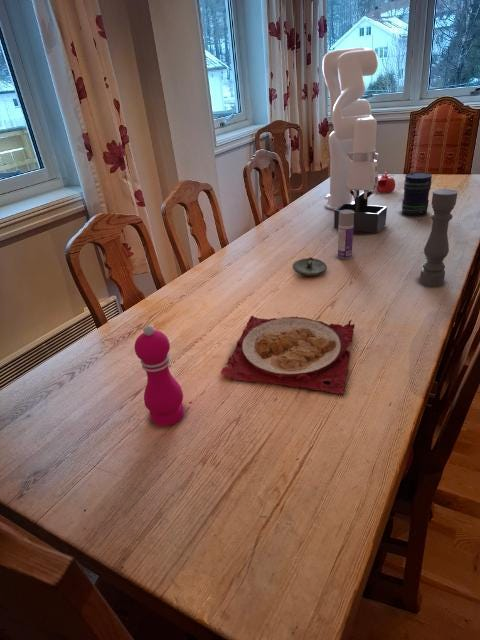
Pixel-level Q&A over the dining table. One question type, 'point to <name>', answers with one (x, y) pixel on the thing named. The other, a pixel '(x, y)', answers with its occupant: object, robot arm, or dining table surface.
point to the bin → (364, 216)
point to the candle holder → (438, 238)
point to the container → (345, 234)
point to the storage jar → (416, 194)
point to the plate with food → (292, 353)
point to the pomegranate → (385, 183)
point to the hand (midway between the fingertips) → (360, 208)
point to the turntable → (361, 233)
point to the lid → (309, 266)
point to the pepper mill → (159, 378)
